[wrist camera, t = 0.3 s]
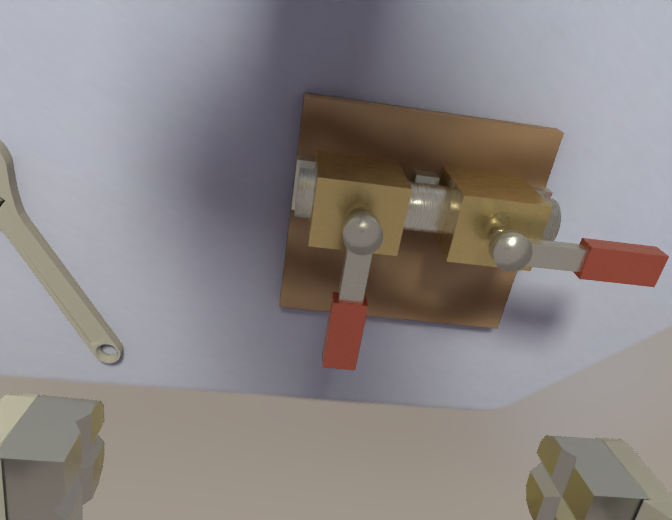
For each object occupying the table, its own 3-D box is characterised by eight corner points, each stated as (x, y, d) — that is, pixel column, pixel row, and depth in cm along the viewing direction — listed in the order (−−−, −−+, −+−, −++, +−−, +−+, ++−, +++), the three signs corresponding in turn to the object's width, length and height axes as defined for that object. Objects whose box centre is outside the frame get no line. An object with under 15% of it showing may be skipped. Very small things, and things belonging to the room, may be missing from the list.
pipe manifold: (298, 147, 45) (296, 191, 36) (606, 187, 48) (677, 238, 39) (291, 209, 48) (287, 265, 39) (584, 244, 51) (646, 303, 42)
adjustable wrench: (131, 349, 56) (125, 360, 55) (74, 365, 57) (67, 376, 55) (-8, 118, 45) (-20, 123, 43) (-77, 140, 45) (-91, 146, 44)
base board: (304, 92, 45) (304, 96, 43) (556, 128, 47) (563, 132, 46) (280, 298, 54) (279, 307, 52) (493, 320, 56) (497, 328, 55)
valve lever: (345, 208, 38) (346, 217, 37) (383, 213, 39) (386, 222, 37) (320, 354, 44) (321, 367, 43) (354, 357, 45) (356, 370, 43)
